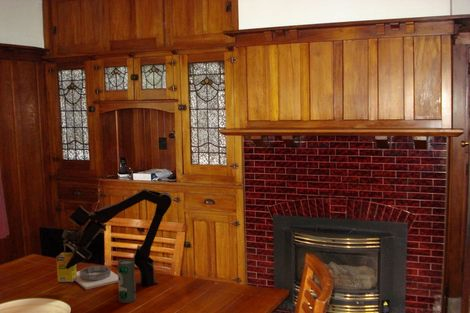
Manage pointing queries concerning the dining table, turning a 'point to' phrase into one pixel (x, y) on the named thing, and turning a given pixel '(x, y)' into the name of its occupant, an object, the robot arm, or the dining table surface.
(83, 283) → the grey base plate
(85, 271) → the metal duct collar
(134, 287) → the can
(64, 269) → the supplement box
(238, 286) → the dining table surface
